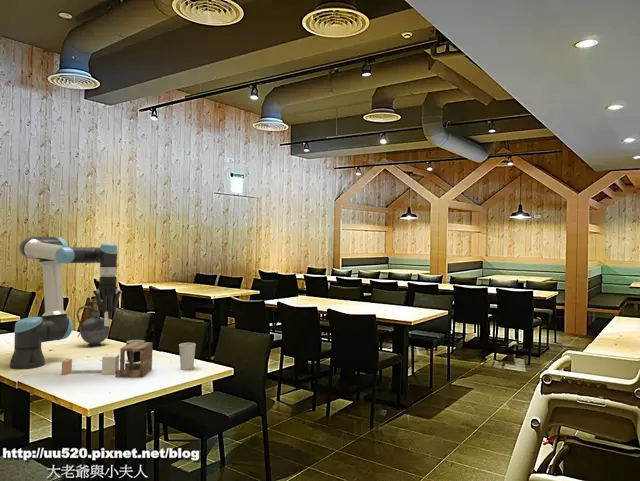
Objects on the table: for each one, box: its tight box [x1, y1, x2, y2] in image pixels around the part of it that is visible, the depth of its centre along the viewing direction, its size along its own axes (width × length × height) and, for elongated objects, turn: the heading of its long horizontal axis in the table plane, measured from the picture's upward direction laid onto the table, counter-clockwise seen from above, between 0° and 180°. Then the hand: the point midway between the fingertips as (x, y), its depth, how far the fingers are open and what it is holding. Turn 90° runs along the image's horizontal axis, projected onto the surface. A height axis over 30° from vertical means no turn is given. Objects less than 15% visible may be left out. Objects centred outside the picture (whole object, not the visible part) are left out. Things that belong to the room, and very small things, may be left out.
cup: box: [178, 342, 197, 371], centre depth 251 cm, size 8×8×12 cm
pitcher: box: [76, 295, 110, 348], centre depth 301 cm, size 11×19×30 cm, turn 140°
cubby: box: [114, 341, 153, 378], centre depth 240 cm, size 12×15×13 cm
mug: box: [125, 339, 145, 363], centre depth 266 cm, size 12×9×10 cm
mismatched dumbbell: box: [61, 353, 120, 376], centre depth 239 cm, size 24×6×8 cm, turn 97°
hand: (106, 325), depth 239 cm, fingers closed
